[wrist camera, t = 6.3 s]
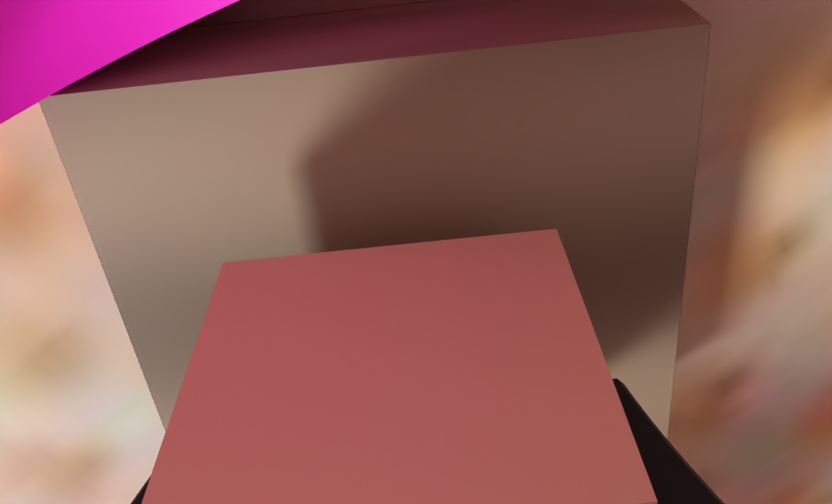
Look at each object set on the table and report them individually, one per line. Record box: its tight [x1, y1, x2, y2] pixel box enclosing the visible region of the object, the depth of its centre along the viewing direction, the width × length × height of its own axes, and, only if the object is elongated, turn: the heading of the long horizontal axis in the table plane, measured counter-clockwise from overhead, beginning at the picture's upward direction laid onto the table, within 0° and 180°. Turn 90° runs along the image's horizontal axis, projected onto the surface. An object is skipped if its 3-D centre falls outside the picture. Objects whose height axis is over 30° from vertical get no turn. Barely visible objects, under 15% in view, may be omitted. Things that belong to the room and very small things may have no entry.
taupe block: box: [39, 0, 711, 438], centre depth 15 cm, size 10×10×3 cm
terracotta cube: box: [142, 229, 658, 504], centre depth 11 cm, size 5×5×5 cm
